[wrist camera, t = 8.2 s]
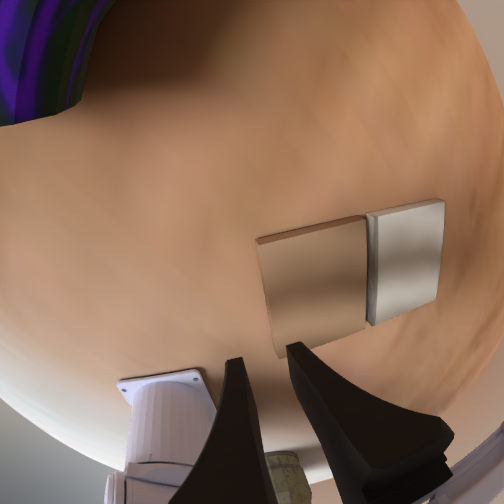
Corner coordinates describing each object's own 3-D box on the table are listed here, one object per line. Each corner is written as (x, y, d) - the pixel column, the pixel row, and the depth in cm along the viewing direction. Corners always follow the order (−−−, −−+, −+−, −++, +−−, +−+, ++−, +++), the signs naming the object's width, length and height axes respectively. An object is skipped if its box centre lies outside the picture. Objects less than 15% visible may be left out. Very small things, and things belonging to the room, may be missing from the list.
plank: (358, 321, 24) (364, 329, 23) (274, 350, 23) (278, 359, 22) (357, 215, 20) (365, 219, 19) (254, 239, 19) (258, 245, 18)
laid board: (428, 293, 25) (435, 299, 24) (365, 319, 24) (372, 326, 23) (435, 198, 21) (444, 201, 20) (366, 213, 20) (374, 217, 19)
